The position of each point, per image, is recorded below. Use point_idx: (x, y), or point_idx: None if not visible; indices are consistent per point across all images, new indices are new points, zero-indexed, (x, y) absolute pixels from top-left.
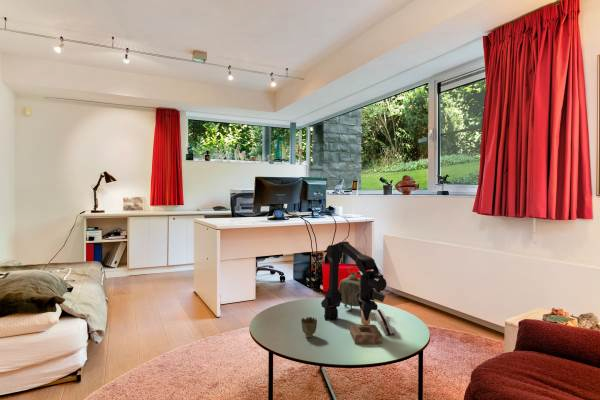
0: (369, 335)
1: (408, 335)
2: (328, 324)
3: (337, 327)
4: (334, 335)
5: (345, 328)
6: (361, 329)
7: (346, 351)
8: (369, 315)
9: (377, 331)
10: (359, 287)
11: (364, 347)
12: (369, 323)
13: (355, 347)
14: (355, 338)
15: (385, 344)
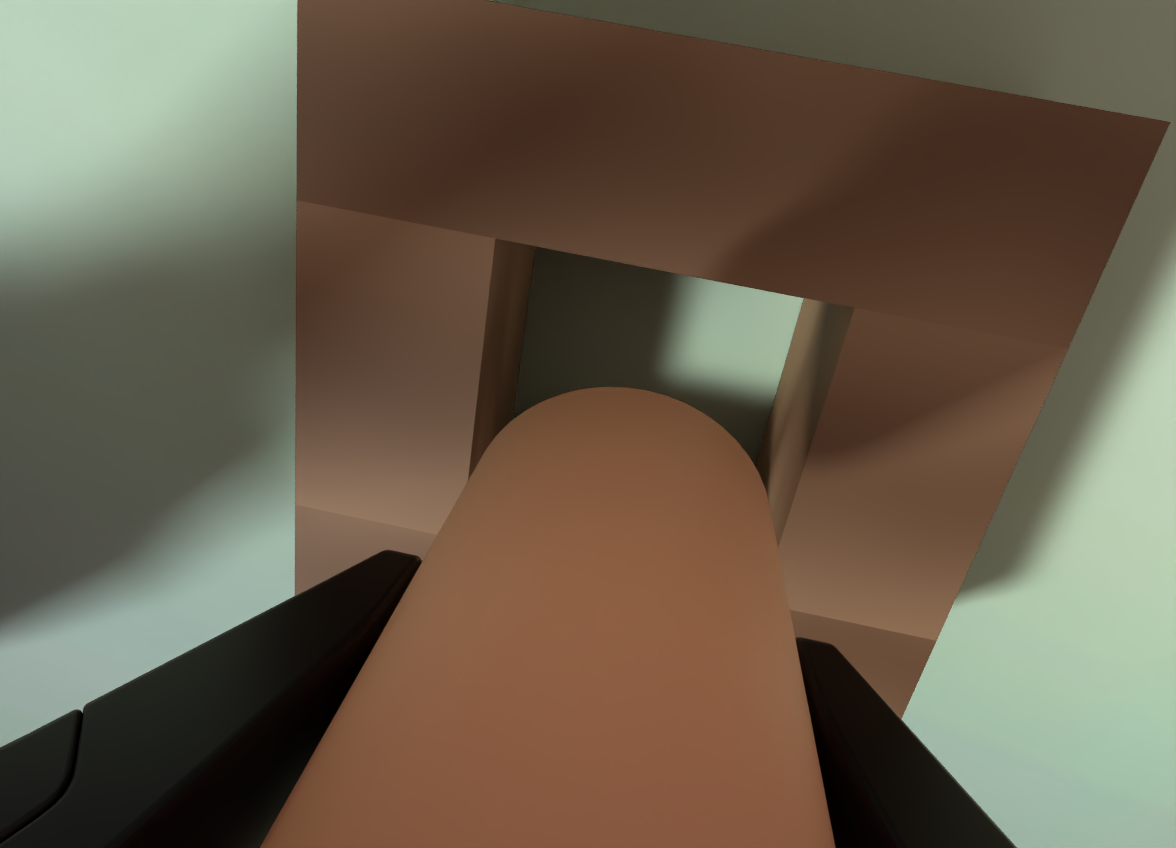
0: (1003, 484)
1: None
2: (25, 709)
3: (135, 634)
4: None
5: (170, 532)
6: (484, 441)
7: (1039, 835)
8: (793, 693)
9: (861, 149)
10: None
11: (1034, 545)
12: (741, 457)
13: (966, 677)
14: None
15: (1109, 27)
